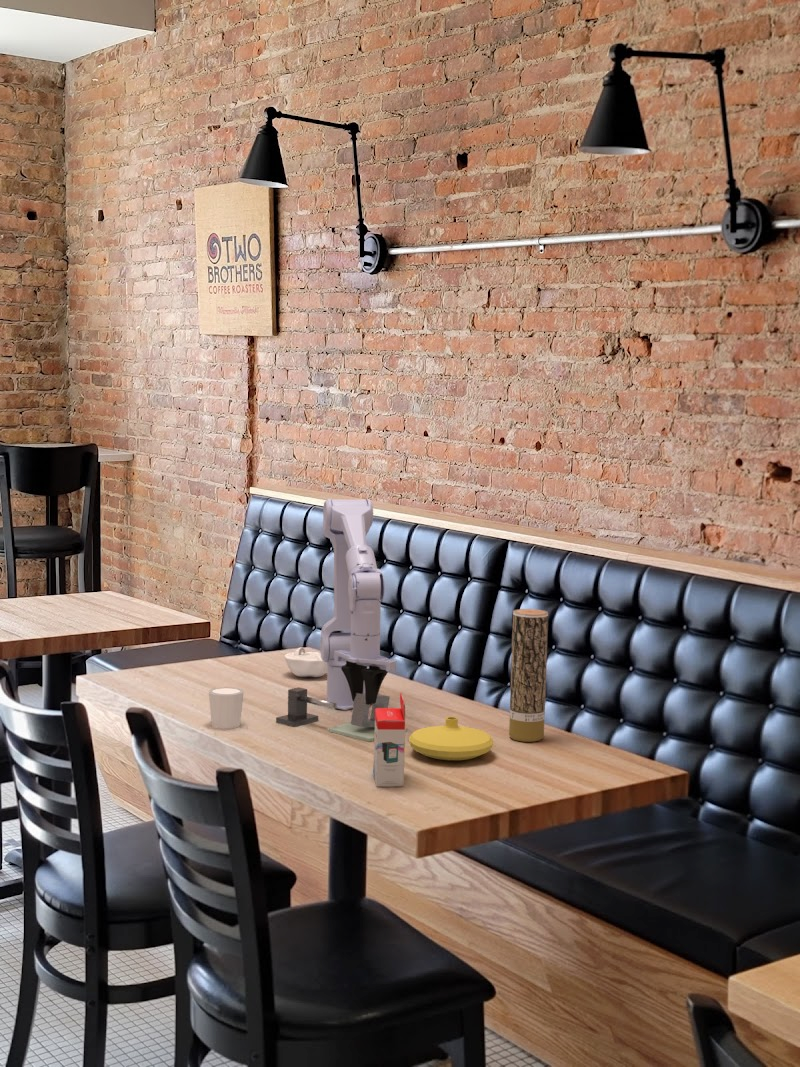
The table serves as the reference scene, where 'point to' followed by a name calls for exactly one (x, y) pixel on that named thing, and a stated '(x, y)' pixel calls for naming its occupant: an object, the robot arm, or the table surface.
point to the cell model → (306, 663)
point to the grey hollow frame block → (367, 709)
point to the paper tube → (528, 674)
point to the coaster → (355, 731)
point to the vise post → (301, 708)
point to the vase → (451, 741)
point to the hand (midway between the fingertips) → (364, 702)
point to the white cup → (226, 707)
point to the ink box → (389, 746)
